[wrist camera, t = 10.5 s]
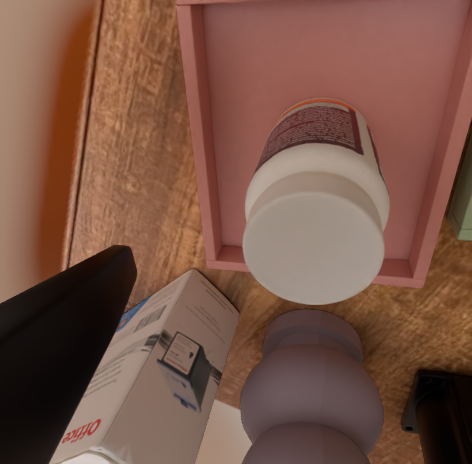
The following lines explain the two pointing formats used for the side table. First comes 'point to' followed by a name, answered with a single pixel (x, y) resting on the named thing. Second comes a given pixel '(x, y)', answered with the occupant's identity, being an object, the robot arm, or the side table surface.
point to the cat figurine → (310, 394)
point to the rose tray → (337, 87)
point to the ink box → (155, 380)
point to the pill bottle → (317, 205)
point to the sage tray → (463, 200)
